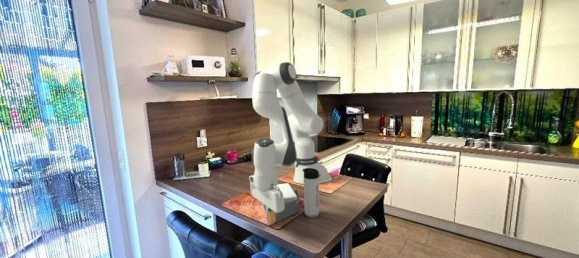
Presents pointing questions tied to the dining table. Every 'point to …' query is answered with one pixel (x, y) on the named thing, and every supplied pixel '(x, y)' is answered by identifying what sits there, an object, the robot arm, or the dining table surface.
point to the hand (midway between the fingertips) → (267, 213)
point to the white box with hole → (288, 192)
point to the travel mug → (311, 192)
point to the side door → (283, 212)
